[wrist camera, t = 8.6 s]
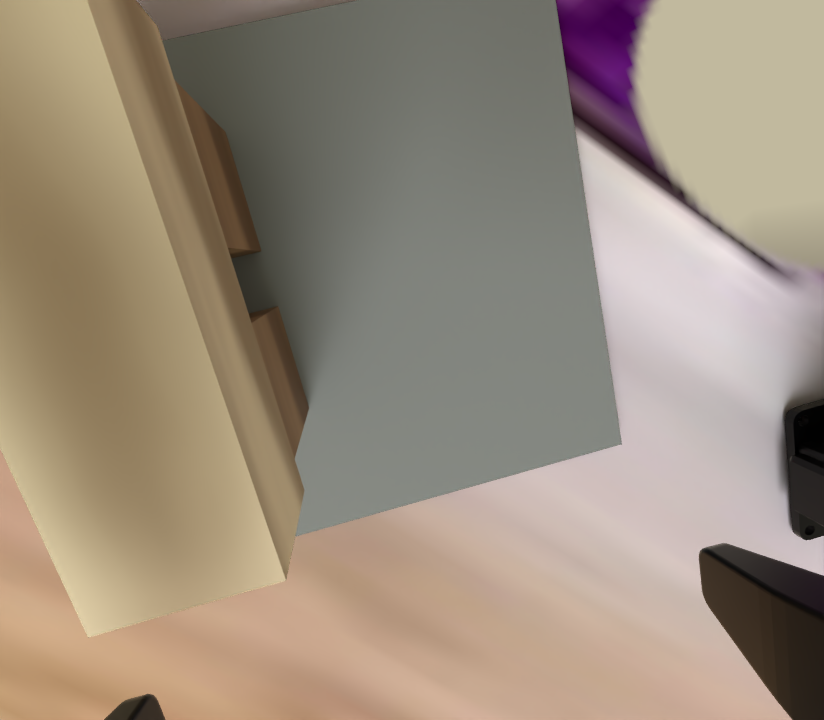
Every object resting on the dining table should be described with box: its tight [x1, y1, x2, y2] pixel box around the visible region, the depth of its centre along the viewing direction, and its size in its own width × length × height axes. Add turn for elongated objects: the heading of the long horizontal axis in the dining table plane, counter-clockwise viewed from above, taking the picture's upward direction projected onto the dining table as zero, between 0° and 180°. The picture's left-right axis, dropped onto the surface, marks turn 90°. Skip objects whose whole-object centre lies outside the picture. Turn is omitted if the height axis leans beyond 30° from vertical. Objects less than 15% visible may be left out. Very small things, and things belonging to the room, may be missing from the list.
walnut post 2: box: [249, 306, 309, 458], centre depth 15 cm, size 4×4×5 cm
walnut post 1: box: [175, 81, 261, 258], centre depth 14 cm, size 4×4×5 cm
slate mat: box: [162, 0, 622, 536], centre depth 18 cm, size 20×18×1 cm
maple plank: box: [0, 0, 305, 638], centre depth 10 cm, size 4×12×4 cm, turn 14°
